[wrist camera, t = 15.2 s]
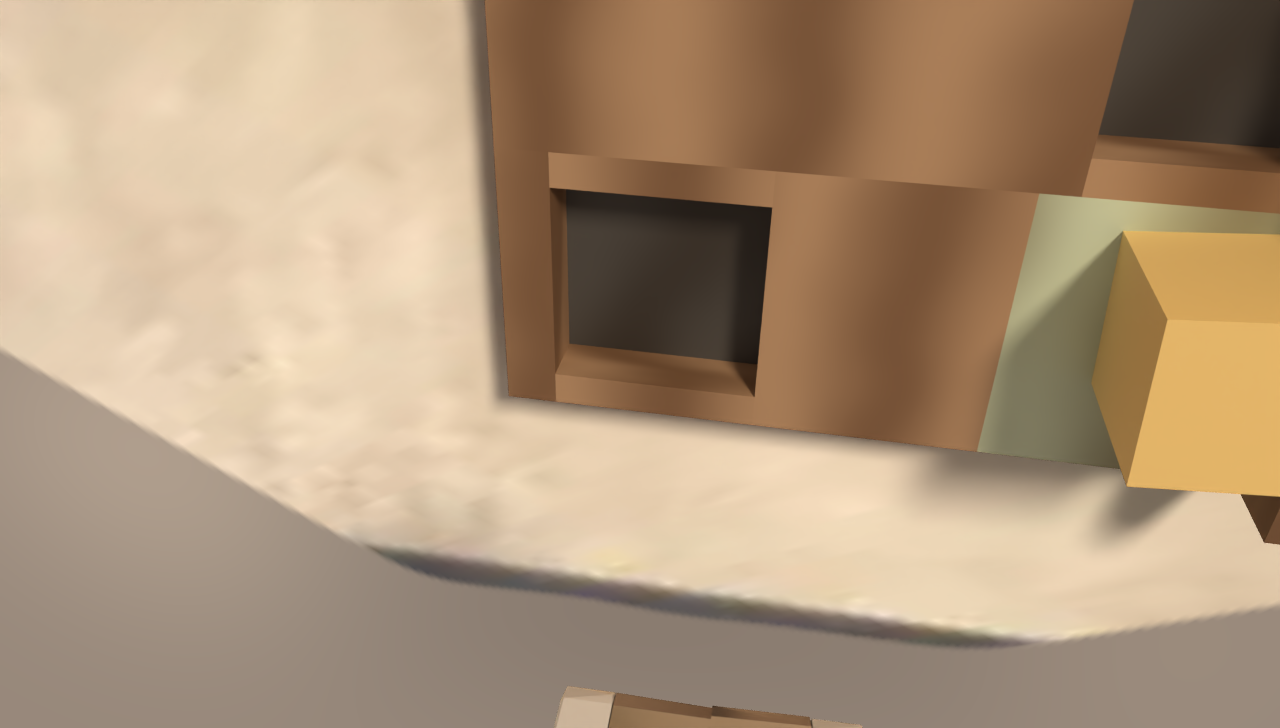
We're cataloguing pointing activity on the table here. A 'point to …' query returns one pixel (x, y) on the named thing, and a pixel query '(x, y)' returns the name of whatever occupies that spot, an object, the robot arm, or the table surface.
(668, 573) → the table surface
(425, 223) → the table surface
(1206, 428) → the block
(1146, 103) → the box
